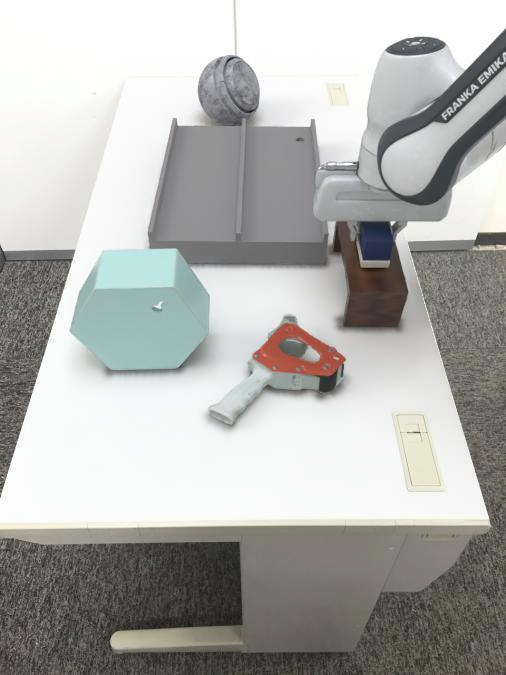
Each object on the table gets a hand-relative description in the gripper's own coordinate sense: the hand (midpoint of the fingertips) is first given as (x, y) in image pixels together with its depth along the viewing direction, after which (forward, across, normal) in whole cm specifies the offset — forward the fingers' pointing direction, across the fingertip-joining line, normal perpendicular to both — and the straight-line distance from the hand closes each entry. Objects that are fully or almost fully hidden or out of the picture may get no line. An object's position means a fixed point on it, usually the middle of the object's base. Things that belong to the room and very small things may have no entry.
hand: (372, 239), depth 86 cm
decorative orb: (+10, -25, +57) cm, 64 cm away
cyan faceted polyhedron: (+10, -35, -15) cm, 40 cm away
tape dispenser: (+10, -16, -20) cm, 28 cm away
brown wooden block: (+10, 0, 0) cm, 10 cm away
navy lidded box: (+2, 0, 0) cm, 2 cm away
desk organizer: (+10, -22, +25) cm, 35 cm away
